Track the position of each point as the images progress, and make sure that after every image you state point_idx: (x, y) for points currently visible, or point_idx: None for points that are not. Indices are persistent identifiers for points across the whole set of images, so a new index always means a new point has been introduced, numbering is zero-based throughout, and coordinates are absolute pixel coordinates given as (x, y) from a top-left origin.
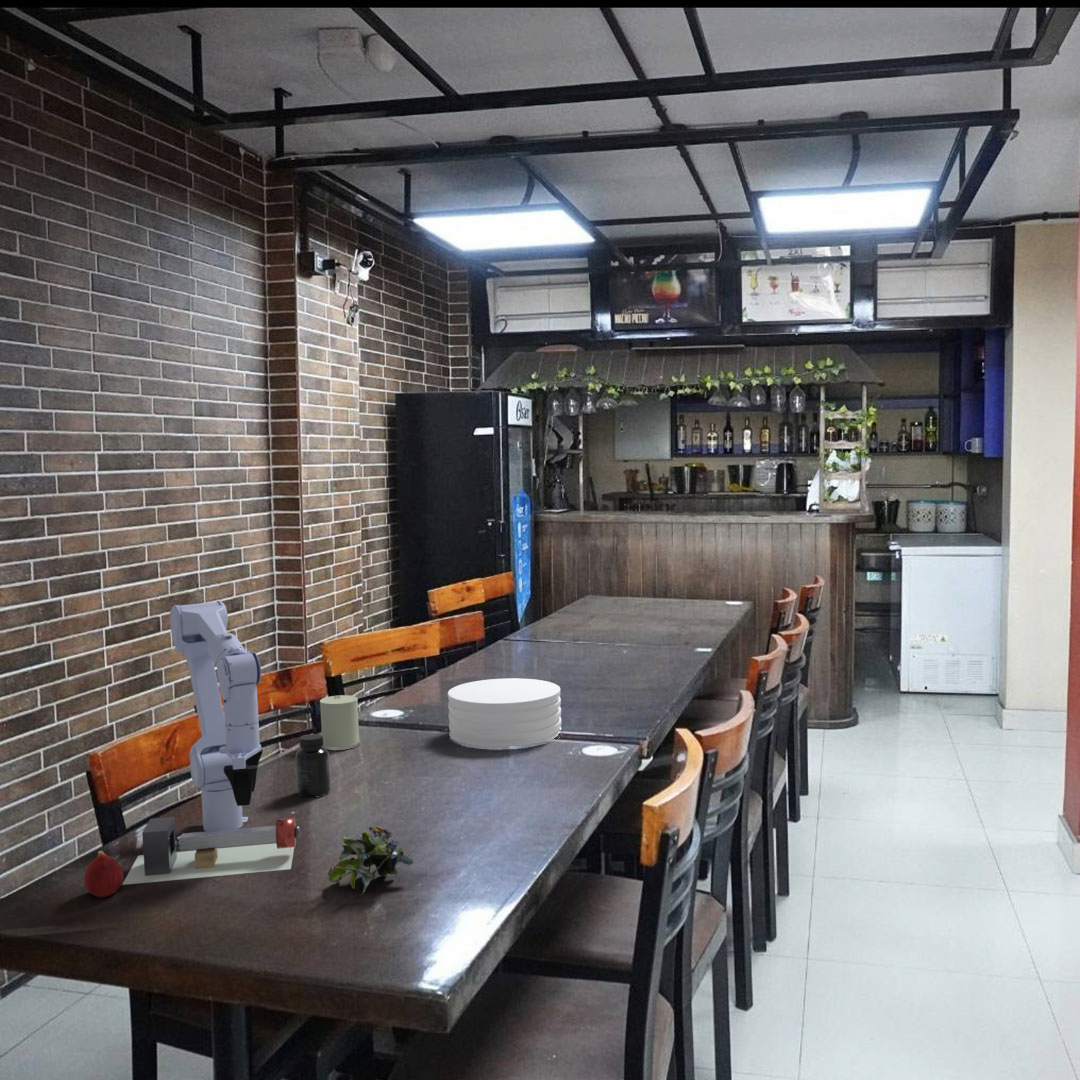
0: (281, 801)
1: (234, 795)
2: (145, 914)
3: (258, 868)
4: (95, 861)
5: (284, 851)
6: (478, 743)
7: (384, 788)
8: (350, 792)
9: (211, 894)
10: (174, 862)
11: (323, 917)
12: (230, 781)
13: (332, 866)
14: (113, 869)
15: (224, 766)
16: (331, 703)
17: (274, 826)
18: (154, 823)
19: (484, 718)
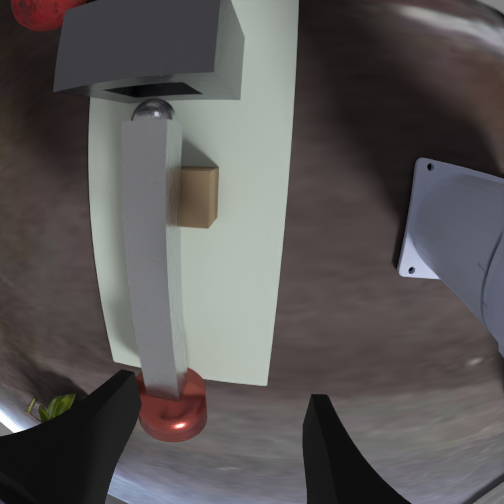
0: None
1: (92, 392)
2: (6, 111)
3: (120, 310)
4: None
5: (209, 365)
6: (498, 490)
7: (468, 453)
8: (489, 422)
9: (49, 215)
10: (198, 99)
11: (8, 356)
12: (34, 428)
13: (26, 409)
14: (16, 17)
15: (12, 479)
16: None
17: (173, 396)
18: (146, 11)
19: None
